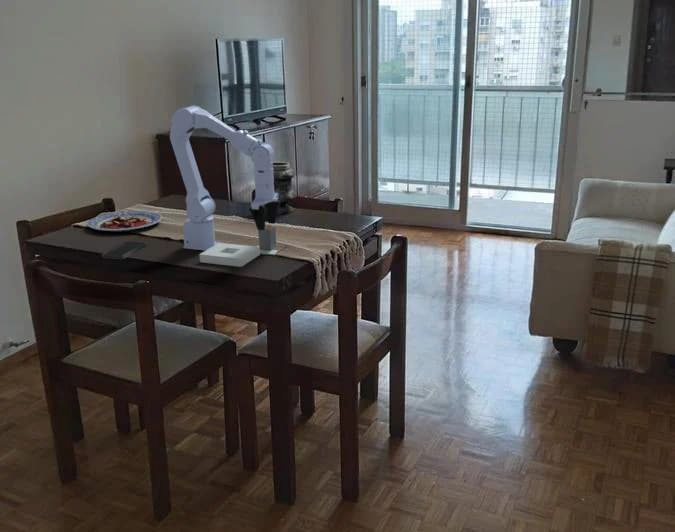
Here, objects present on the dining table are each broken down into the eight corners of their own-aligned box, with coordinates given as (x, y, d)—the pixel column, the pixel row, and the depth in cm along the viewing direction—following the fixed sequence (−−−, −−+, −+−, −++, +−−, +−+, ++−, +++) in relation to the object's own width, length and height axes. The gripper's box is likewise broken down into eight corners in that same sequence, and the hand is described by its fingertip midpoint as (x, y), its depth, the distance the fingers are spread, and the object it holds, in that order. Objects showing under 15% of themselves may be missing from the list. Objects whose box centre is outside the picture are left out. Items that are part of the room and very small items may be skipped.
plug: (259, 249, 219) (258, 228, 217) (264, 245, 222) (263, 224, 220) (271, 250, 218) (269, 229, 215) (276, 247, 221) (275, 225, 219)
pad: (248, 252, 218) (248, 251, 218) (261, 244, 226) (261, 243, 225) (274, 255, 215) (274, 253, 214) (286, 246, 222) (286, 245, 222)
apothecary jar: (299, 206, 272) (298, 160, 266) (290, 214, 260) (288, 166, 255) (270, 205, 274) (267, 160, 268) (260, 213, 263) (257, 166, 257)
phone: (147, 243, 227) (122, 257, 213) (147, 246, 227) (122, 260, 213) (125, 241, 229) (99, 255, 215) (126, 244, 229) (99, 258, 215)
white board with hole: (200, 262, 209) (199, 254, 209) (220, 250, 220) (219, 242, 219) (241, 266, 205) (240, 258, 204) (259, 254, 215) (259, 247, 214)
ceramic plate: (135, 238, 235) (134, 229, 234) (72, 232, 243) (71, 224, 242) (176, 219, 258) (175, 211, 257) (116, 214, 266) (115, 207, 265)
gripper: (265, 189, 205) (267, 233, 210) (286, 179, 218) (287, 221, 223) (244, 188, 208) (246, 231, 212) (266, 178, 221) (267, 219, 225)
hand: (266, 226), depth 218 cm, fingers open, 7 cm apart
